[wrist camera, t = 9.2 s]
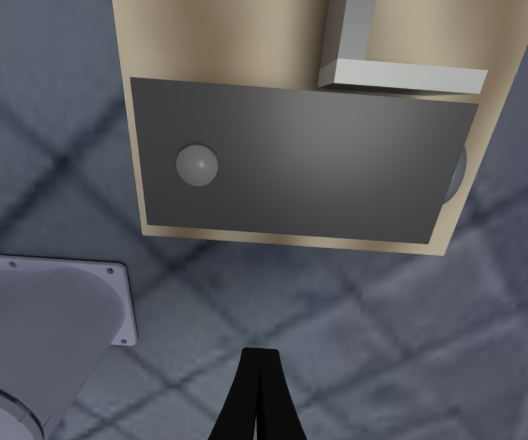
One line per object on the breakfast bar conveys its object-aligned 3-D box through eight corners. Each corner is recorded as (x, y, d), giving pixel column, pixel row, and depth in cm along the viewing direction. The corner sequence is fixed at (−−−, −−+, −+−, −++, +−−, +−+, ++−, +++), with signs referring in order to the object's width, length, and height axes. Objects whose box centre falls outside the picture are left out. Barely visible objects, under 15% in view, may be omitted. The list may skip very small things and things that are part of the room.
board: (149, 227, 19) (142, 234, 17) (120, -33, 13) (106, -46, 12) (433, 246, 19) (443, 255, 18) (525, 0, 13) (548, -9, 12)
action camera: (177, 194, 16) (141, 230, 12) (170, 84, 14) (121, 74, 9) (401, 209, 17) (453, 252, 12) (432, 104, 14) (514, 105, 9)
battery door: (316, 87, 14) (333, 82, 10) (331, -20, 12) (357, -71, 8) (425, 96, 14) (479, 93, 10) (456, -10, 12) (532, -56, 8)
